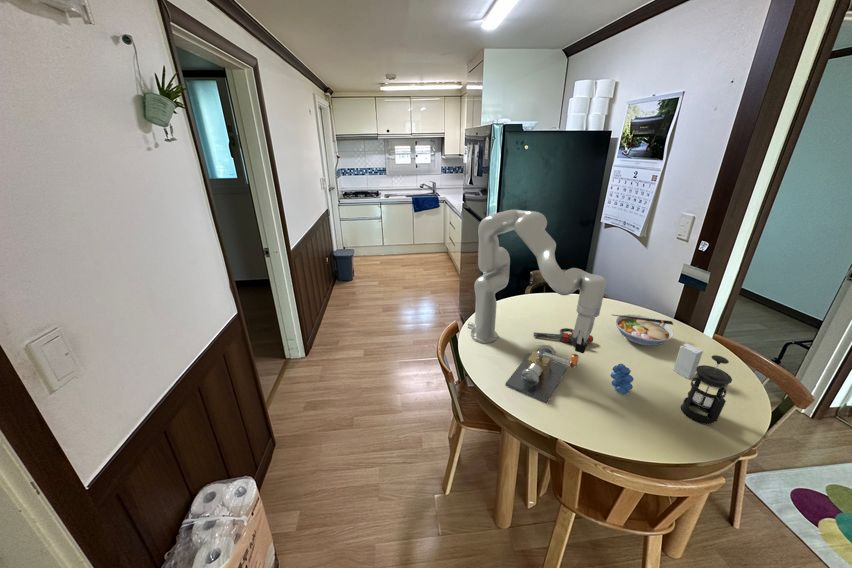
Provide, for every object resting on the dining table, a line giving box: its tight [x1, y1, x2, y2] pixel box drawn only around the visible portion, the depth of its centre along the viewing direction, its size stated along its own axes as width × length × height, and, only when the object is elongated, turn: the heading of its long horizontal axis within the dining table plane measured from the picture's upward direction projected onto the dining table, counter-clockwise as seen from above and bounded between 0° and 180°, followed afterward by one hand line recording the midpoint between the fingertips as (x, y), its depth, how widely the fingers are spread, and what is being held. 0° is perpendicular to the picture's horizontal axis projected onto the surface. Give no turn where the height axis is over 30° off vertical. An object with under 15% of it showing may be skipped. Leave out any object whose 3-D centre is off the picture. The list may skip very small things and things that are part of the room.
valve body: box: [504, 344, 568, 404], centre depth 130 cm, size 16×24×10 cm, turn 143°
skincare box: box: [672, 343, 704, 380], centre depth 130 cm, size 6×4×12 cm
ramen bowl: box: [611, 313, 674, 346], centre depth 152 cm, size 25×23×8 cm
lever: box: [536, 349, 580, 369], centre depth 123 cm, size 15×3×5 cm, turn 53°
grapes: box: [610, 363, 634, 395], centre depth 121 cm, size 12×7×12 cm, turn 178°
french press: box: [680, 354, 733, 425], centre depth 108 cm, size 12×9×23 cm
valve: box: [533, 327, 594, 348], centre depth 156 cm, size 6×26×15 cm
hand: (579, 351), depth 126 cm, fingers closed
